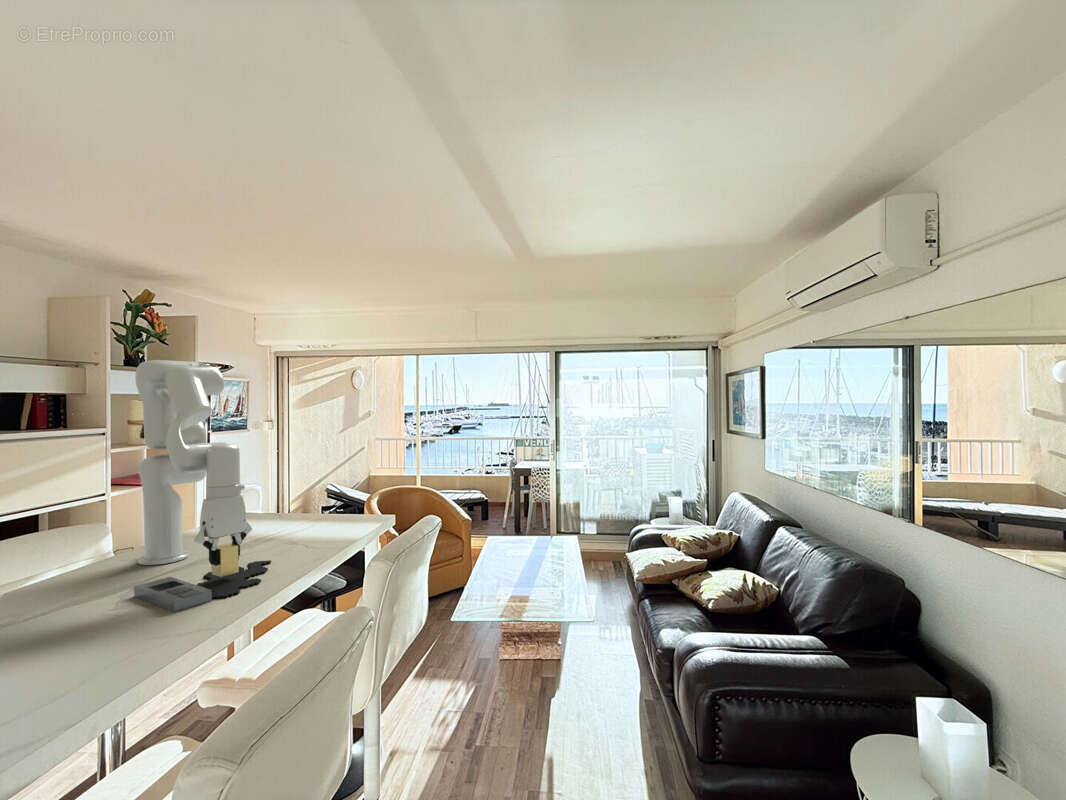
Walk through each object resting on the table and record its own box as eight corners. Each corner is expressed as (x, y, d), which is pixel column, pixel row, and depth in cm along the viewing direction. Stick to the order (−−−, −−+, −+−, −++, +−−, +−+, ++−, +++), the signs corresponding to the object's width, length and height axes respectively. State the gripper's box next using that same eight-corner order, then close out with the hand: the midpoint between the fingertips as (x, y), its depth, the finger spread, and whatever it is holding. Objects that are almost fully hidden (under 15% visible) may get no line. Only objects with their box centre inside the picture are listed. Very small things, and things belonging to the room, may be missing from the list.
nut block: (211, 574, 140) (211, 547, 140) (229, 569, 144) (228, 543, 144) (221, 576, 138) (220, 549, 138) (238, 572, 142) (238, 545, 142)
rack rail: (134, 596, 131) (134, 585, 131) (170, 586, 138) (170, 576, 138) (175, 612, 121) (174, 600, 121) (212, 600, 127) (212, 589, 127)
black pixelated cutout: (219, 566, 156) (173, 604, 127) (219, 563, 156) (173, 600, 127) (278, 562, 159) (248, 597, 130) (278, 558, 159) (248, 593, 130)
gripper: (247, 486, 150) (248, 552, 150) (181, 496, 136) (182, 568, 136) (263, 488, 146) (264, 556, 146) (196, 498, 132) (197, 573, 132)
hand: (224, 561), depth 141 cm, fingers closed on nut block, 4 cm apart
